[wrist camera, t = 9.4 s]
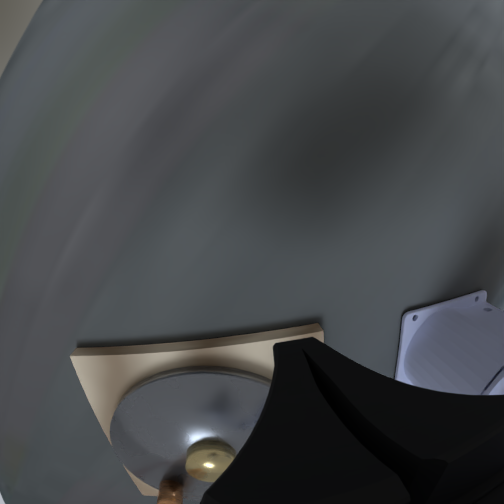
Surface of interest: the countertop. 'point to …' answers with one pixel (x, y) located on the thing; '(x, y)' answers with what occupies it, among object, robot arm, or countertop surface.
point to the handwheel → (186, 427)
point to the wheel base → (172, 366)
